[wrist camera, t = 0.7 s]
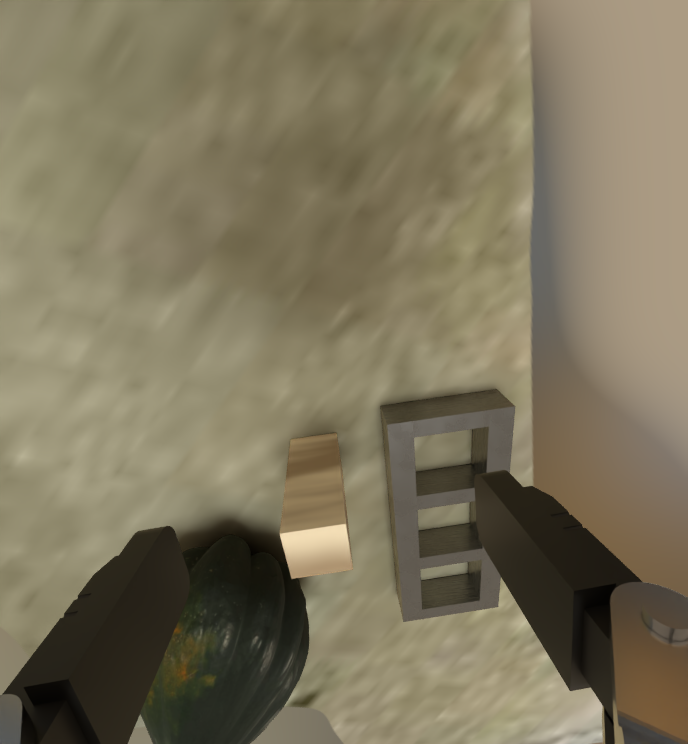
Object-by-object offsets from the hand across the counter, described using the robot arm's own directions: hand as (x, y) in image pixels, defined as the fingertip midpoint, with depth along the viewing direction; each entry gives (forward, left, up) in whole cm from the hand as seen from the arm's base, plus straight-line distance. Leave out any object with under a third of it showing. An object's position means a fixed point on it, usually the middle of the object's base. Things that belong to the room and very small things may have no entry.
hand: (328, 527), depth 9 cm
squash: (+24, -12, -19) cm, 33 cm away
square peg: (+11, -2, -19) cm, 22 cm away
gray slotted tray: (+19, +9, -19) cm, 28 cm away
